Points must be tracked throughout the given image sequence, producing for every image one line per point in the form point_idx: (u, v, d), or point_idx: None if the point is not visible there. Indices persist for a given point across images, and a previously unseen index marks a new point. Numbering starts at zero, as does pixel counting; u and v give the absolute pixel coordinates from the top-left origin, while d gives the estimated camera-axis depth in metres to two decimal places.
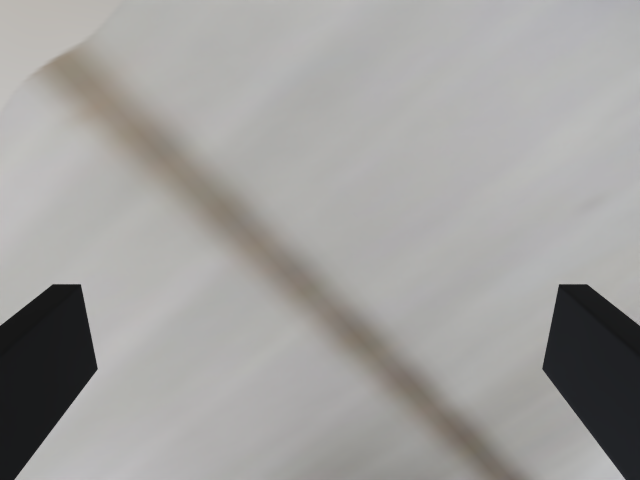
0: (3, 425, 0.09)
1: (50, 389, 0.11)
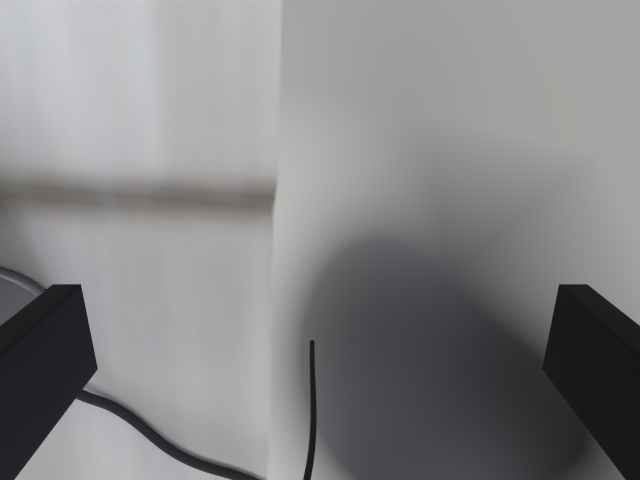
0: (3, 425, 0.09)
1: (50, 389, 0.11)
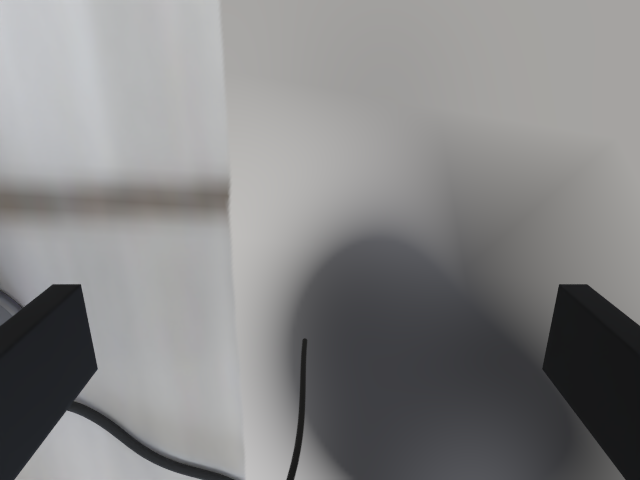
0: (3, 425, 0.09)
1: (50, 389, 0.11)
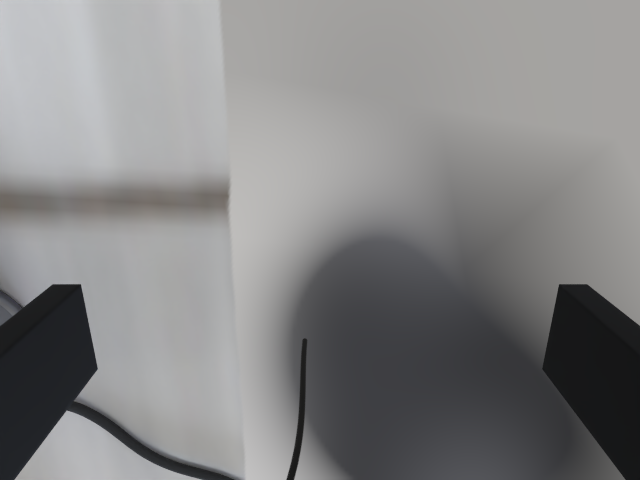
0: (3, 425, 0.09)
1: (50, 389, 0.11)
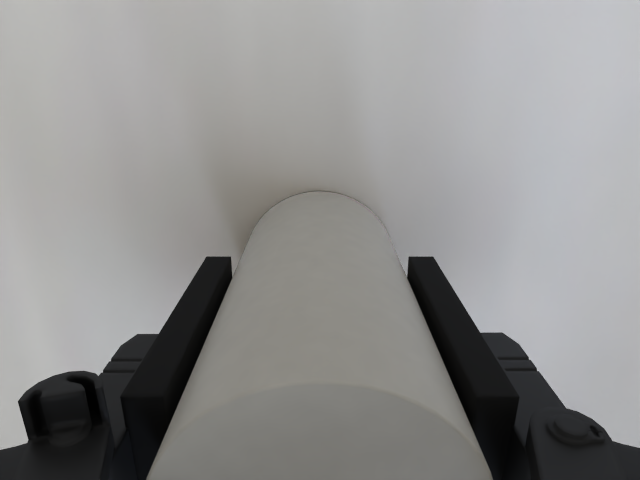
0: None
1: None
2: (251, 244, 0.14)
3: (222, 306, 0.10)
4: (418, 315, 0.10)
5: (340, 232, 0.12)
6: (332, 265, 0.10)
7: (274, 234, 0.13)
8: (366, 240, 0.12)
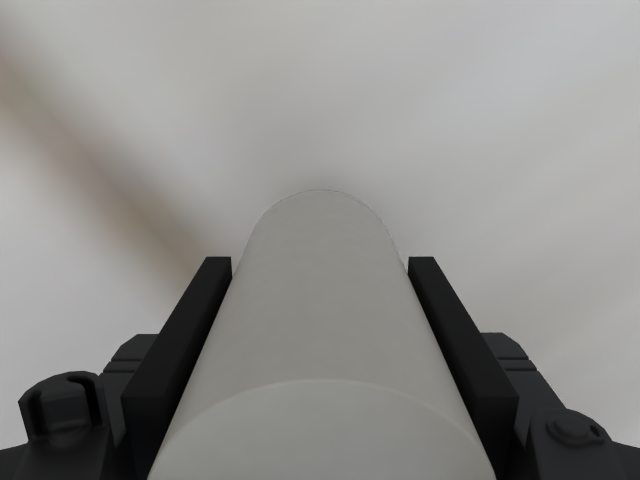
0: None
1: None
2: (252, 243, 0.14)
3: (223, 305, 0.10)
4: (420, 314, 0.10)
5: (342, 230, 0.12)
6: (334, 264, 0.10)
7: (275, 233, 0.13)
8: (367, 239, 0.12)
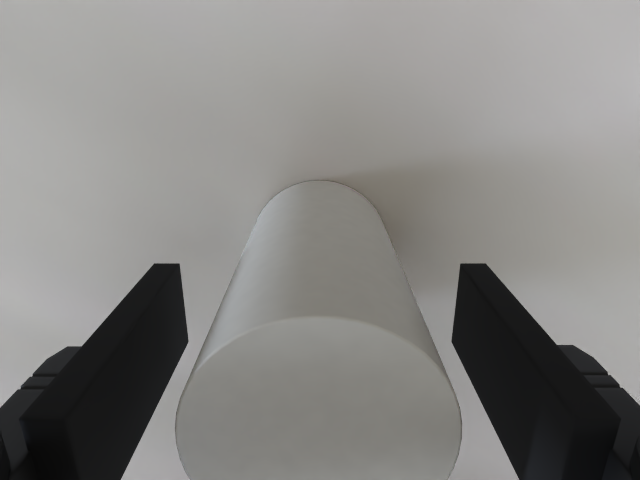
0: (140, 380, 0.11)
1: (163, 354, 0.12)
2: (258, 226, 0.15)
3: (235, 274, 0.12)
4: (403, 280, 0.11)
5: (337, 213, 0.14)
6: (330, 238, 0.12)
7: (279, 216, 0.14)
8: (360, 220, 0.14)
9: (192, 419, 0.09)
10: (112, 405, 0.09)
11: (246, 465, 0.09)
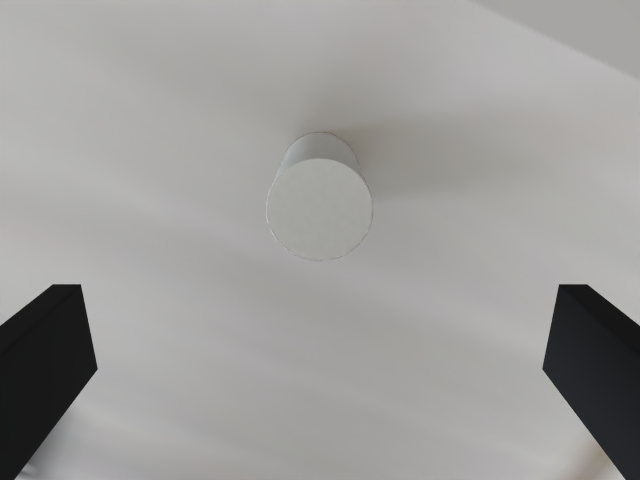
0: (3, 425, 0.09)
1: (50, 389, 0.11)
2: (288, 151, 0.30)
3: (281, 165, 0.27)
4: (356, 164, 0.26)
5: (328, 141, 0.28)
6: (324, 146, 0.26)
7: (299, 144, 0.29)
8: (339, 145, 0.29)
9: (273, 201, 0.23)
10: None
11: (292, 222, 0.24)
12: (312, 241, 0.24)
